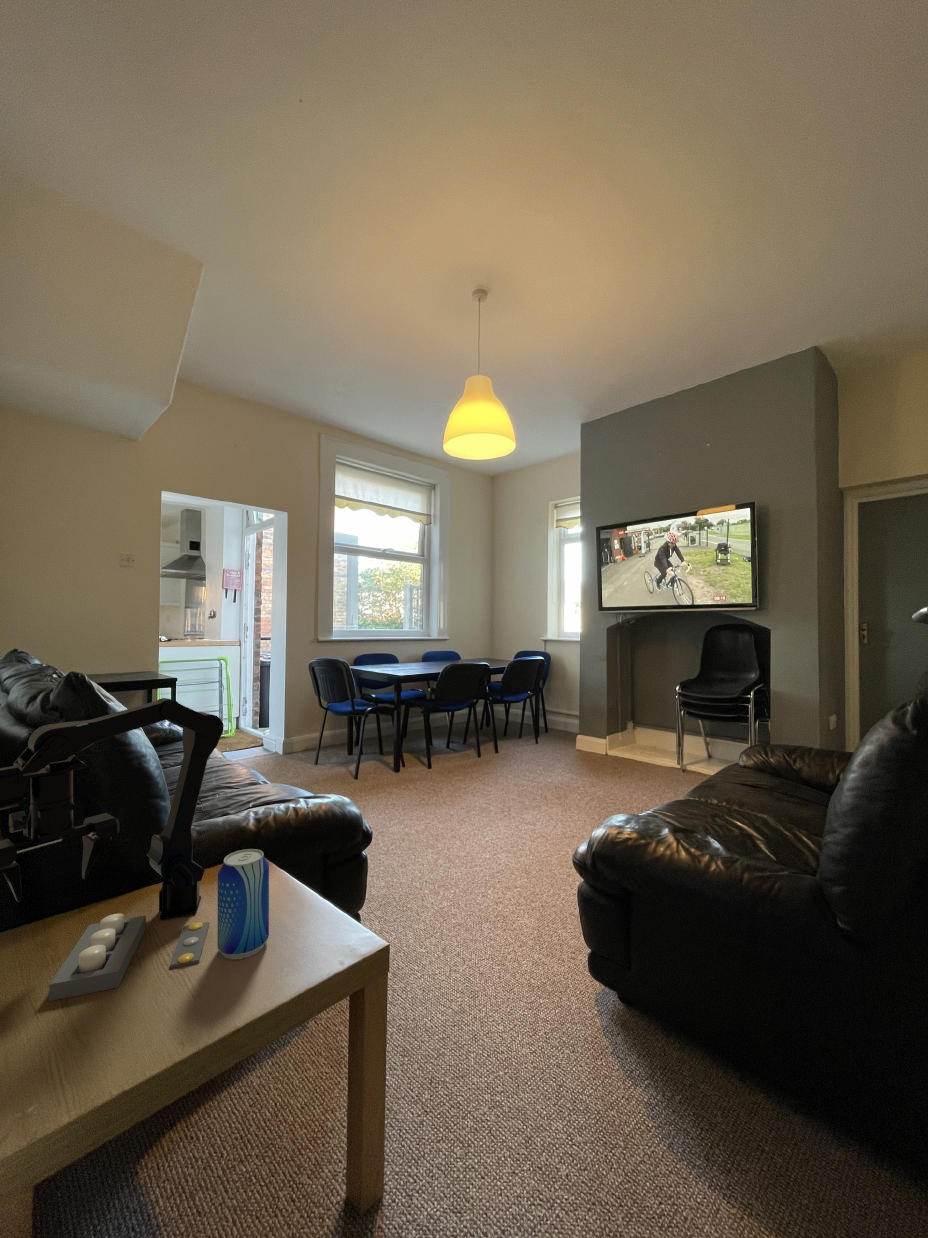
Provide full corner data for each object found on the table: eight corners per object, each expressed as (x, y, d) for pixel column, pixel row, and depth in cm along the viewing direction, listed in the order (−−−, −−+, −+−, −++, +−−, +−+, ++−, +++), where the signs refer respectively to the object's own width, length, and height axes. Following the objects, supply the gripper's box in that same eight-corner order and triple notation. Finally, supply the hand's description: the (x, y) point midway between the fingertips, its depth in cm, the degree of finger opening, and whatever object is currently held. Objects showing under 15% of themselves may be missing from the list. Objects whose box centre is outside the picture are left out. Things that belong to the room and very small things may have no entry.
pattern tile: (209, 924, 99) (209, 920, 99) (199, 963, 87) (199, 959, 87) (183, 928, 97) (183, 924, 97) (169, 969, 86) (169, 964, 86)
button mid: (117, 941, 90) (118, 927, 90) (111, 953, 87) (111, 938, 87) (94, 945, 89) (94, 930, 89) (86, 957, 86) (87, 942, 86)
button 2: (126, 926, 95) (126, 912, 95) (120, 936, 91) (120, 922, 92) (104, 929, 94) (104, 915, 94) (97, 940, 90) (97, 926, 90)
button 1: (108, 958, 85) (108, 943, 85) (101, 971, 82) (101, 955, 82) (83, 963, 84) (83, 947, 84) (75, 976, 81) (75, 960, 81)
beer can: (277, 946, 92) (277, 856, 92) (229, 969, 85) (229, 872, 86) (255, 928, 97) (256, 843, 98) (209, 948, 91) (210, 857, 92)
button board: (145, 929, 97) (145, 915, 97) (117, 987, 81) (118, 971, 81) (89, 938, 94) (89, 924, 94) (49, 1001, 78) (49, 984, 78)
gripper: (97, 777, 101) (98, 857, 101) (-32, 805, 86) (-32, 898, 86) (120, 787, 95) (121, 872, 95) (-16, 819, 80) (-16, 920, 80)
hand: (52, 889), depth 89 cm, fingers open, 9 cm apart
